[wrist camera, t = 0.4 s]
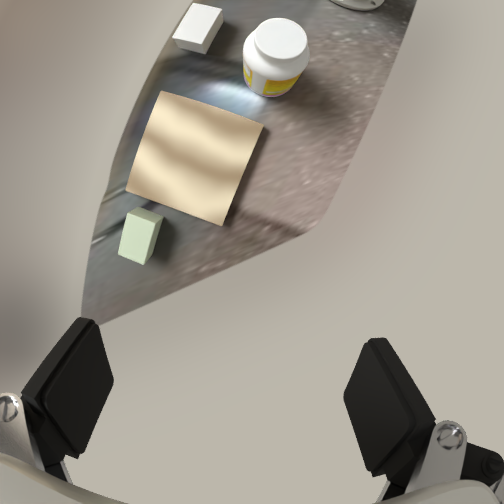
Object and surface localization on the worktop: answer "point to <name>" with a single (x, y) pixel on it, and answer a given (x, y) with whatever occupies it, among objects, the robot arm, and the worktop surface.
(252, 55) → the supplement bottle
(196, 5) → the white block
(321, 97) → the worktop surface
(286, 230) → the worktop surface
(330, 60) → the worktop surface
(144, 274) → the worktop surface
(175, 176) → the birch board
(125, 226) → the green block
